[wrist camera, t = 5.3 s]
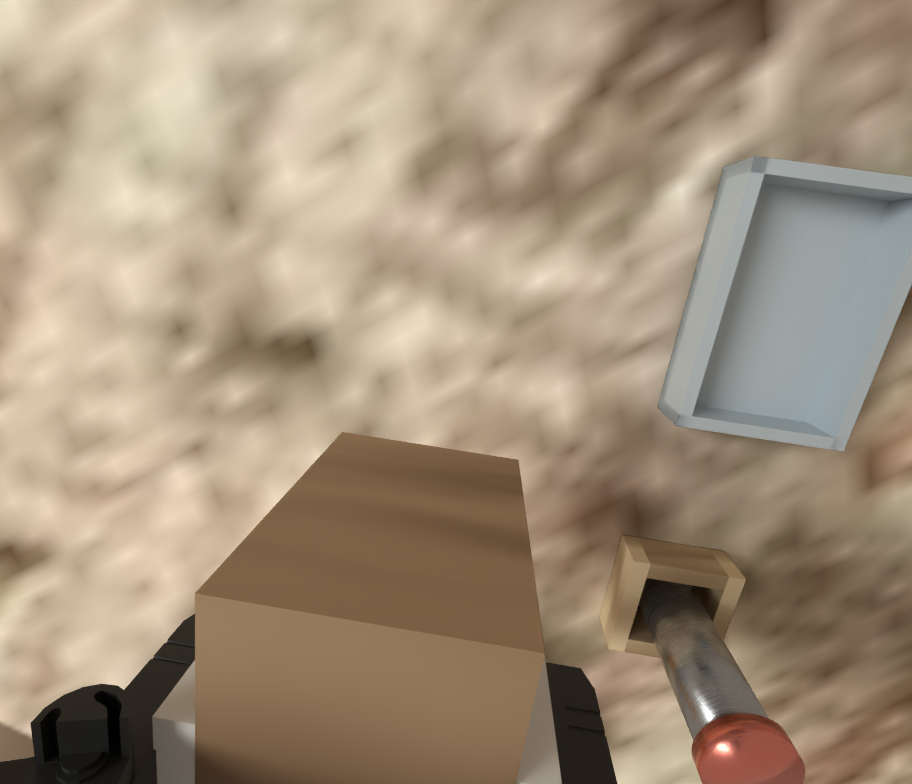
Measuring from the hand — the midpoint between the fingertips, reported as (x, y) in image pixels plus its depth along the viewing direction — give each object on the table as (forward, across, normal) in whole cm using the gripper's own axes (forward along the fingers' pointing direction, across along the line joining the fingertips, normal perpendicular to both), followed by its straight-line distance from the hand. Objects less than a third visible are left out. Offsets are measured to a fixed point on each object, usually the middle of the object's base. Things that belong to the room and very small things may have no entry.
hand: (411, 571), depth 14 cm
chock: (0, 0, 0) cm, 1 cm away
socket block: (+14, +14, -8) cm, 21 cm away
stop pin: (+14, +14, -8) cm, 21 cm away
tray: (+13, +15, +9) cm, 22 cm away
